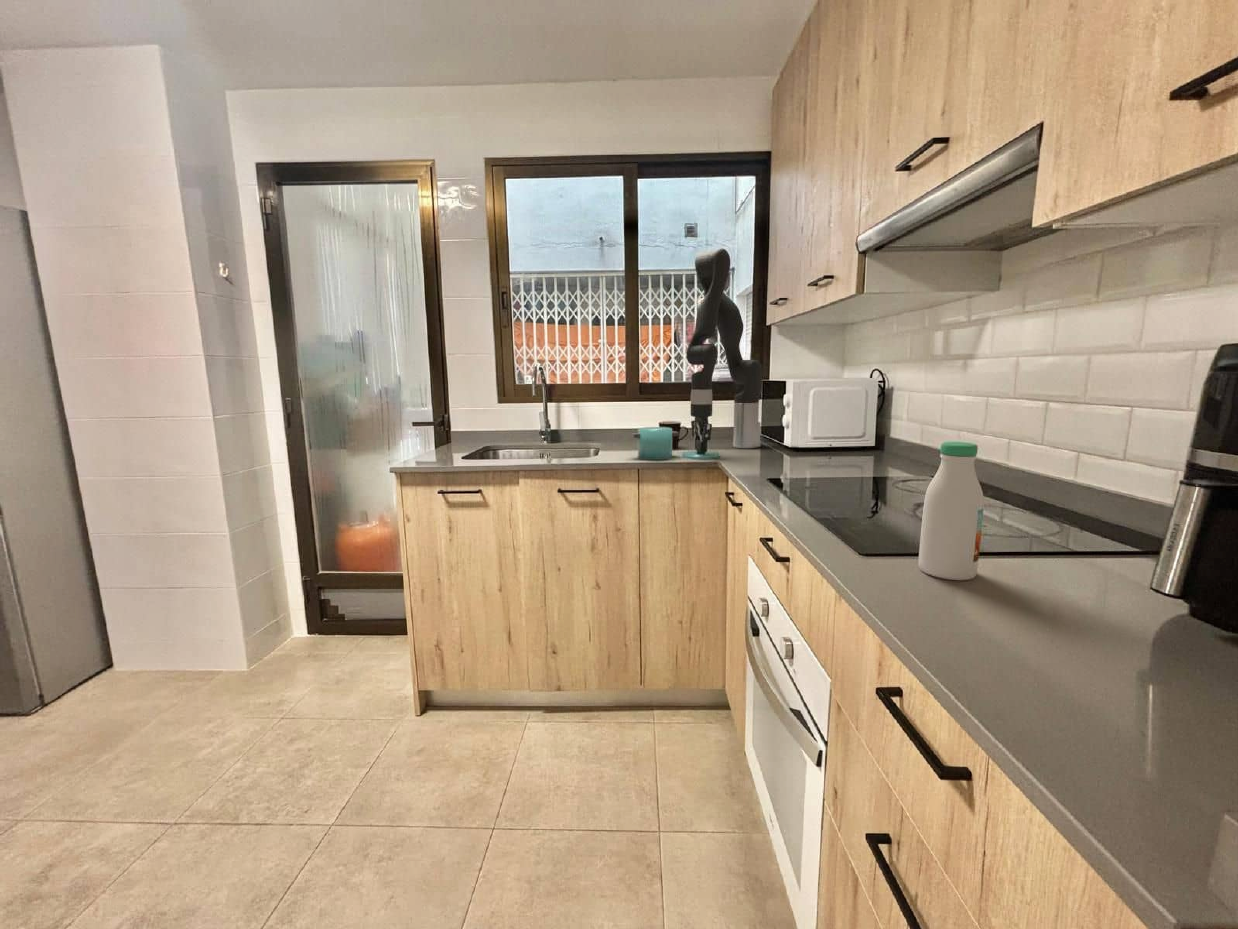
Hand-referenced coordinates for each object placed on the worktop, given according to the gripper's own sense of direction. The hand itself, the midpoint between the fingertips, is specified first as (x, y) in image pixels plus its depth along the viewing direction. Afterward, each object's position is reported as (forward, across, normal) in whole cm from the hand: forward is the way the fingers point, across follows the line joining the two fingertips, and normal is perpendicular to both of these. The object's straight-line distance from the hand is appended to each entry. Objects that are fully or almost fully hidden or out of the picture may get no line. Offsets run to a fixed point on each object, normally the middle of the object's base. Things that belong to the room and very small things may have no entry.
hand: (700, 450), depth 189 cm
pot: (+2, +3, +16) cm, 16 cm away
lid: (+2, 0, 0) cm, 2 cm away
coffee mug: (+2, +20, +4) cm, 20 cm away
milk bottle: (+2, -111, +4) cm, 111 cm away
